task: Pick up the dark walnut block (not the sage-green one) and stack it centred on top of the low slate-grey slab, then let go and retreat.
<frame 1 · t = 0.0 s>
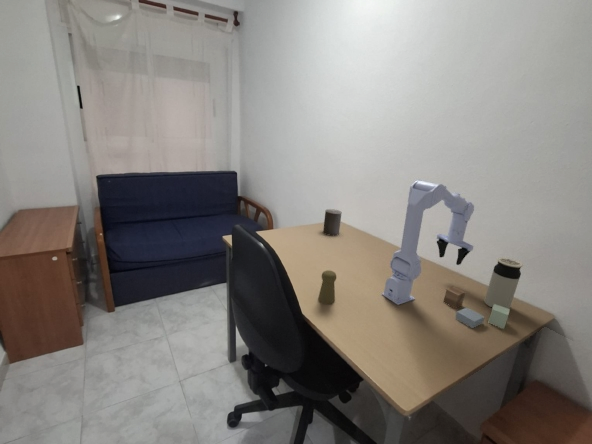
hand: (449, 260, 122), 10 cm above the table, fingers open, 7 cm apart
pillar candle: (331, 233, 177), on the table
sage block: (496, 323, 99), on the table
walnut block: (452, 303, 109), on the table
olive pawn: (326, 299, 106), on the table
slate slab: (468, 321, 99), on the table
travel mug: (496, 305, 110), on the table
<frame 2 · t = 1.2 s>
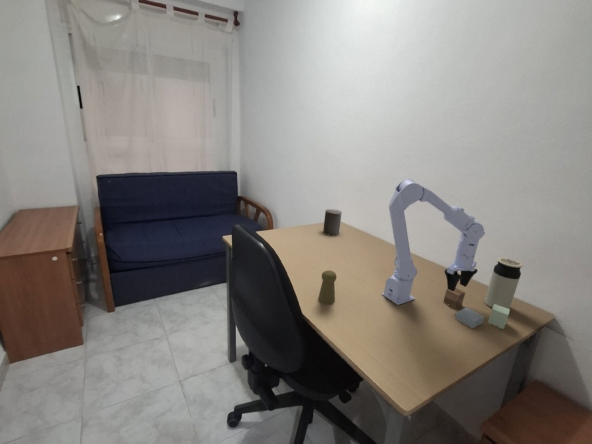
hand: (456, 287, 107), 7 cm above the table, fingers open, 7 cm apart
nothing on the table moved.
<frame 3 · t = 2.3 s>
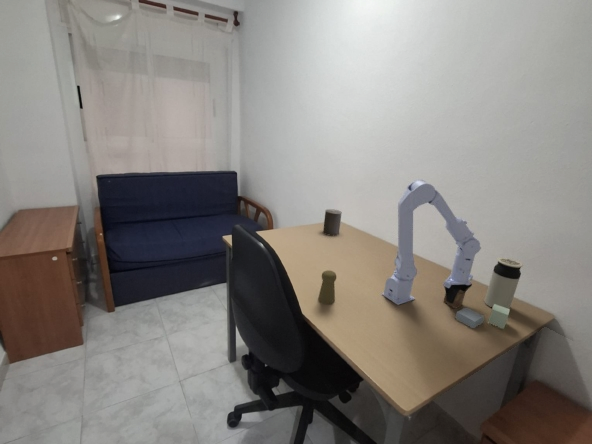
hand: (453, 300, 108), 1 cm above the table, fingers closed on walnut block, 4 cm apart
walnut block: (452, 303, 109), on the table, touching gripper
everything else where it was.
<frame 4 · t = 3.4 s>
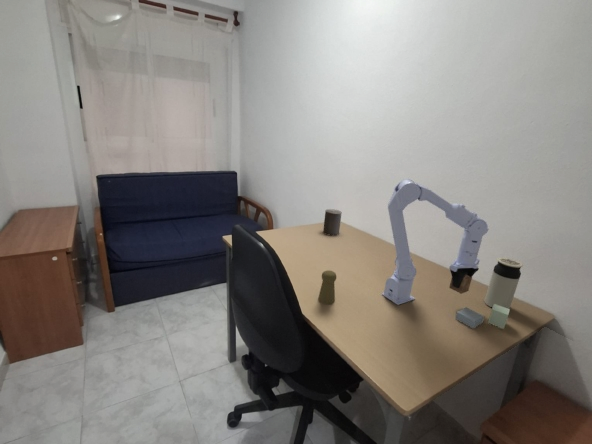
hand: (459, 285, 105), 8 cm above the table, fingers closed on walnut block, 4 cm apart
walnut block: (458, 289, 106), point 7 cm above the table, touching gripper
everything else where it was.
when the fingers open (6 cm above the table, at t = 4.8 s): walnut block drops 1 cm, resting on slate slab.
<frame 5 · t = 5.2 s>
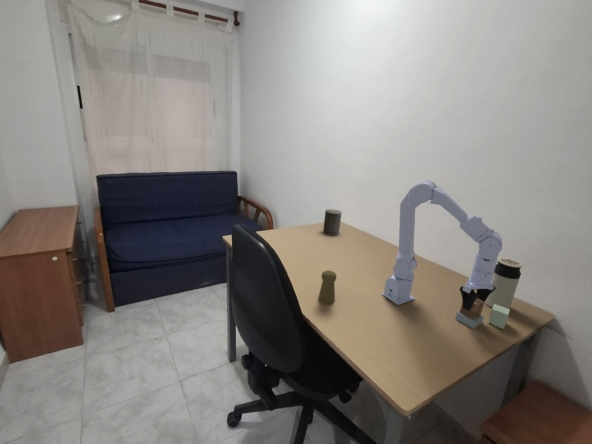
hand: (472, 306, 97), 6 cm above the table, fingers open, 7 cm apart
walnut block: (469, 314, 98), point 3 cm above the table, touching slate slab
slate slab: (468, 321, 99), on the table, touching walnut block
everything else where it was.
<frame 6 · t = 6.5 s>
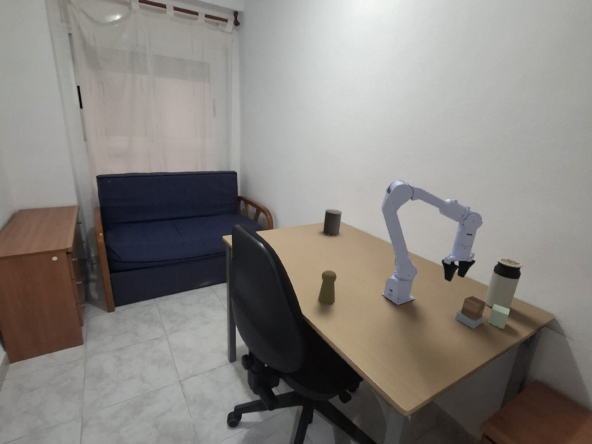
hand: (454, 278, 106), 10 cm above the table, fingers open, 7 cm apart
nothing on the table moved.
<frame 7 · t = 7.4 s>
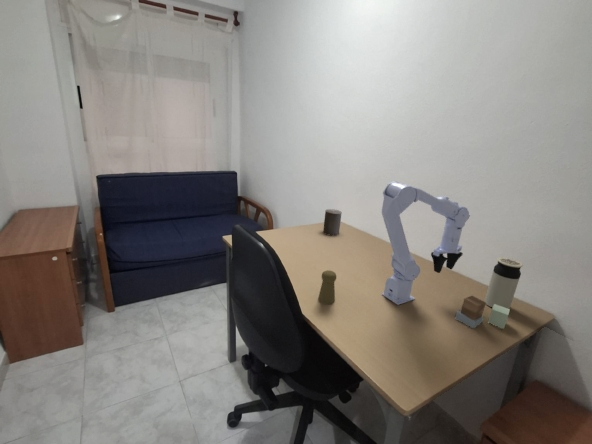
hand: (443, 270, 112), 10 cm above the table, fingers open, 7 cm apart
walnut block: (471, 314, 98), point 3 cm above the table
slate slab: (468, 321, 99), on the table
everything else where it was.
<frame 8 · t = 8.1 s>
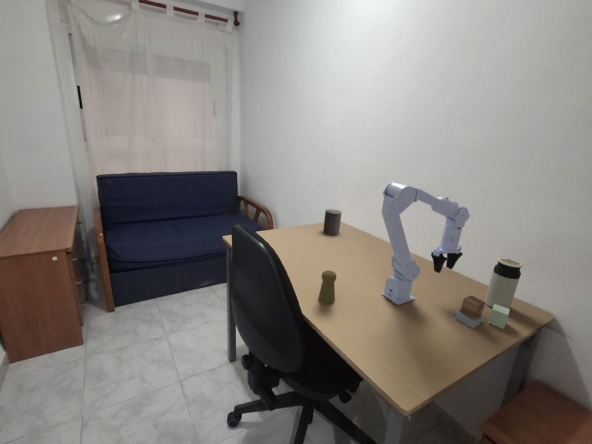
hand: (443, 270, 112), 10 cm above the table, fingers open, 7 cm apart
nothing on the table moved.
at the end: walnut block 0.2 cm off-centre on the slate slab, point 3.0 cm above the slate slab's base; walnut block tilted 0°; the gripper is holding nothing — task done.
